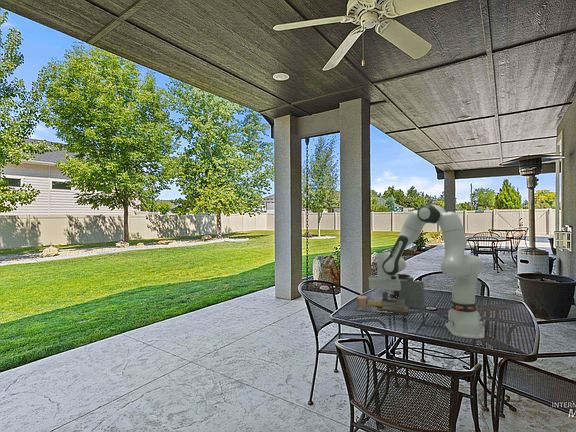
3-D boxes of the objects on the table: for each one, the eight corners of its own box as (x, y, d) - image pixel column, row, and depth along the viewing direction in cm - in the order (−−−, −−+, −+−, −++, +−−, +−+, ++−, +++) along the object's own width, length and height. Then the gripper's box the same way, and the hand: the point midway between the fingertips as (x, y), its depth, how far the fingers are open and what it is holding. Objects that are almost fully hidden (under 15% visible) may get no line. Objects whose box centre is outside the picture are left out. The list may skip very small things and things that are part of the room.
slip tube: (393, 307, 202) (392, 293, 202) (368, 305, 208) (367, 291, 208) (393, 305, 205) (393, 291, 204) (368, 304, 211) (368, 290, 211)
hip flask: (425, 307, 207) (423, 277, 206) (424, 309, 203) (422, 278, 203) (400, 304, 215) (399, 275, 215) (398, 306, 212) (397, 276, 212)
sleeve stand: (408, 314, 193) (407, 304, 193) (356, 310, 205) (355, 300, 205) (408, 308, 206) (408, 298, 206) (359, 304, 218) (359, 295, 218)
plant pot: (388, 298, 230) (387, 277, 230) (392, 293, 244) (391, 273, 243) (410, 300, 223) (409, 278, 223) (412, 295, 237) (411, 274, 236)
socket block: (366, 307, 207) (365, 298, 207) (357, 307, 209) (357, 298, 209) (367, 304, 213) (367, 296, 213) (359, 304, 215) (359, 295, 215)
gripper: (367, 276, 206) (368, 296, 206) (400, 277, 198) (401, 298, 198) (368, 274, 212) (369, 294, 212) (400, 275, 204) (401, 296, 204)
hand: (385, 296), depth 205 cm, fingers closed on slip tube, 3 cm apart
